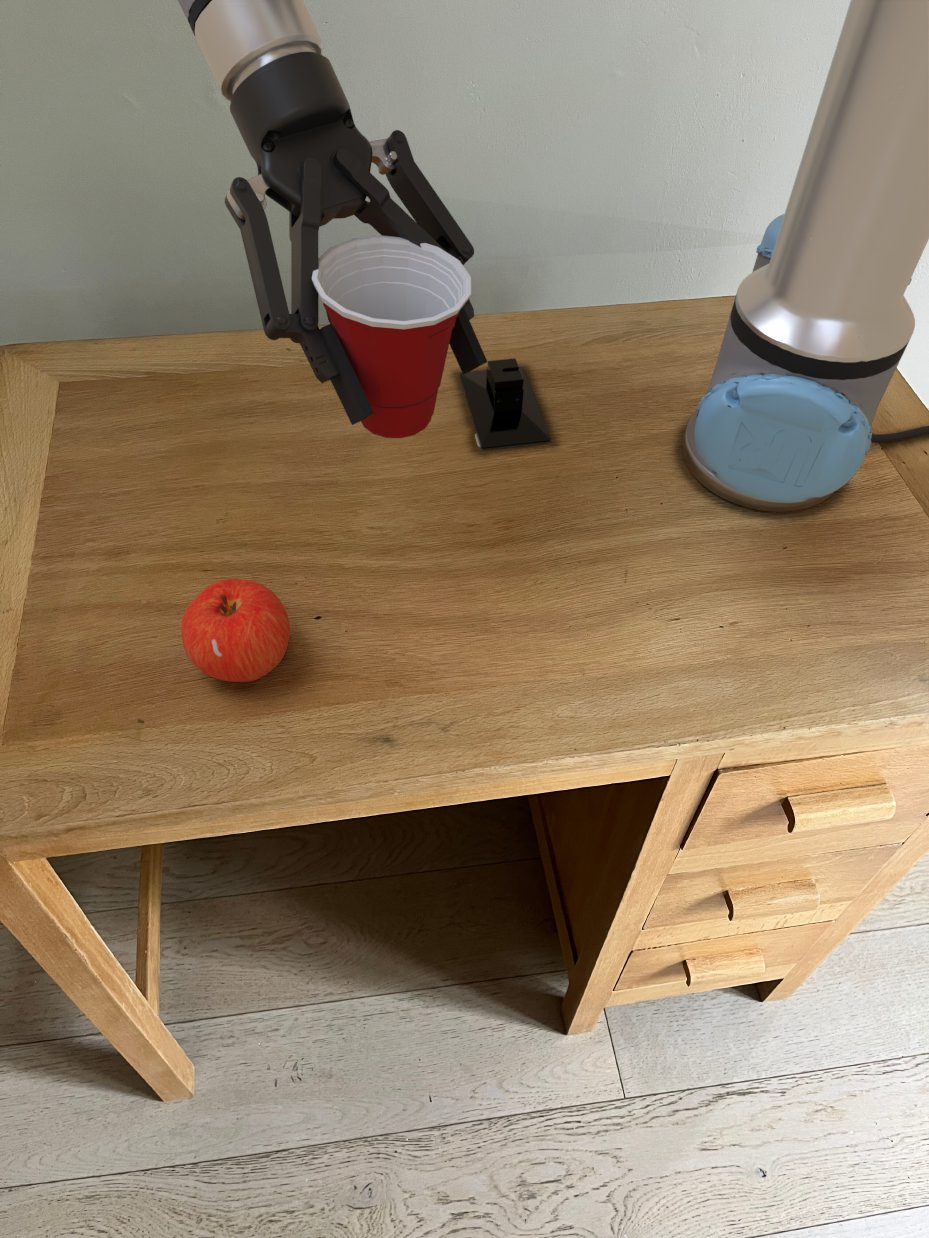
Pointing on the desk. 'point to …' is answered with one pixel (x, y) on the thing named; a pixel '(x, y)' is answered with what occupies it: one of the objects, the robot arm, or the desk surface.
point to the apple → (235, 630)
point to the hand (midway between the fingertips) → (420, 393)
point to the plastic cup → (393, 323)
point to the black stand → (503, 406)
